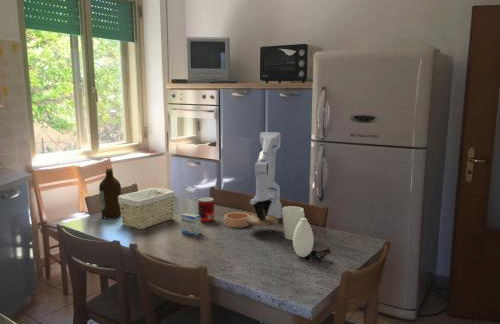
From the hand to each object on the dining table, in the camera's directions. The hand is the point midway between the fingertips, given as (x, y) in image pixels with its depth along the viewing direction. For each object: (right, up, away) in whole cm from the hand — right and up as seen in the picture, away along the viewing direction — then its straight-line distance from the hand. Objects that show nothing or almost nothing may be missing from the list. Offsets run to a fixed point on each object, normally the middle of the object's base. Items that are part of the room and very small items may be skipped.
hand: (262, 216), depth 194 cm
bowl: (-12, -5, +13) cm, 19 cm away
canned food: (-27, -4, +19) cm, 34 cm away
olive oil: (-77, -3, +25) cm, 81 cm away
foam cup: (+13, -9, -6) cm, 17 cm away
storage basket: (-56, -5, +16) cm, 59 cm away
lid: (0, -2, 0) cm, 2 cm away
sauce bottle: (+15, -12, -28) cm, 34 cm away
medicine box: (-32, -8, -1) cm, 33 cm away
